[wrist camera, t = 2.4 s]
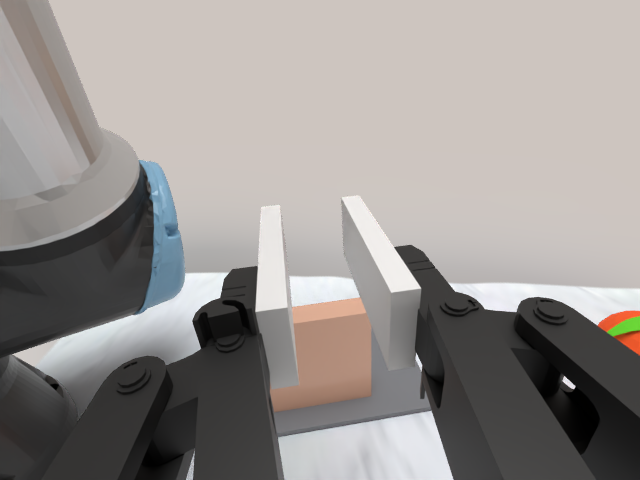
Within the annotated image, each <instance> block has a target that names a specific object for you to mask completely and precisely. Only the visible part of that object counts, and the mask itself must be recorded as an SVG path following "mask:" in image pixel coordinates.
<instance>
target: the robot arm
mask: <svg viewBox="0 0 640 480" xmlns="http://www.w3.org/2000/svg"><path fill="white" fill-rule="evenodd" d="M341 203H342V224H343V246H344V256H345V258H346V261H347V264H348V266H349V269H350V271H351V274H352V277H353V279H354V282H355V284H356V287H357V290H358V292H359V295H360V297H361V300H362V303H363V305H364V308H365V310H366V313H367V316H368V318H369V321H370V323H371V326H372V329H373V331H374V334H375V336H376V339H377V342H378V344H379V347H380V349H381V352H382V355H383V357H384V360H385V362H386V365H387V368H388V370H389V371H390V370H396V369H402V368H408V367H415V357H416V353H417V355H418V357H419V359H420V361H421V363H422V374H421V385H420V399H424V398H425V391H426V394H427V397H428V400H429V403H430V407H431V410H432V413H433V416H434V419H435V422H436V425H437V429H438V432H439V435H440V438H441V441H442V444H443V448H444V451H445V454H446V457H447V460H448V463H449V466H450V470H451V473H452V476H453V479H454V480H640V355H638V354H637V353H635V352H634V351H633V350H631V349H630V348H628V347H627V346H626V345H624V344H623V343H621V342H620V341H618V340H617V339H616V338H614V337H613V336H611V335H610V334H608V333H607V332H606V331H604V330H603V329H601V328H600V327H599V326H597V325H596V324H594V323H593V322H591V321H590V320H589V319H587V318H586V317H584V316H583V315H581V314H580V313H579V312H577V311H576V310H574V309H573V308H571V307H569V306H567V305H566V304H564V303H562V302H559V301H556V300H553V299H549V298H542V297H534V298H527V299H525V300H523V301H521V303H520V304H519V306H518V309H517V312H505V311H493V310H486V309H484V308H483V306H482V305H481V304H480V303H479V302H478V301H477V300H476V299H474V298H472V297H470V296H469V295H466V294H462V293H459V292H455V291H454V290H453V289H452V287H451V286H450V285H449V284H448V282H447V281H446V280H445V279H444V277H443V276H442V275H441V274H440V272H439V271H438V270H437V269H435V266H434V265H433V264H432V262H430V261H429V259H428V257H427V256H426V255H425V254H424V252H423V251H421V250H419V249H417V248H415V247H414V246H412V245H407V246H399V247H393V245H392V244H391V242H390V241H389V239H388V238H387V236H386V235H385V233H384V232H383V230H382V229H381V227H380V226H379V224H378V223H377V222H376V220H375V218H374V217H373V215H372V214H371V212H370V211H369V209H368V208H367V206H366V205H365V203H364V202H363V200H362V199H361V197H360V196H350V197H342V198H341ZM260 221H261V222H260V239H259V256H258V257H259V258H258V266H255V267H247V268H239V269H232V270H231V272H230V273H229V274H228V275H227V276H226V277H225V279H224V282H223V287H222V292H221V297H220V298H219V299H216V300H213V301H211V302H209V303H207V304H205V305H204V306H202V307H201V308H200V309H199V310H198V311H197V312H196V313H195V316H194V318H193V321H192V322H193V325H194V328H195V331H196V334H197V337H198V340H199V343H200V346H201V349H200V350H199V351H197V352H196V353H194V354H193V355H191V356H189V357H186V358H184V359H182V360H179V361H177V362H174V363H172V364H169V365H165V363H164V361H163V360H161V359H160V358H158V357H153V356H144V357H140V358H135V359H133V360H131V361H128V362H126V363H124V364H122V365H121V366H120V367H118V368H117V369H116V370H114V371H113V372H112V373H111V374H110V375H109V376H108V377H107V379H106V380H105V381H104V382H103V384H102V385H101V387H100V388H99V390H98V391H97V393H96V395H95V396H94V398H93V399H92V401H91V402H90V404H89V405H88V407H87V409H86V410H85V412H84V413H83V415H82V416H81V418H80V420H79V421H78V423H77V409H76V406H75V403H74V401H73V400H72V398H71V397H70V395H69V394H68V392H67V390H66V389H65V388H64V386H63V385H62V384H61V383H60V382H58V381H57V380H56V379H54V378H52V377H50V376H48V375H46V374H44V373H43V372H41V371H40V370H38V369H37V368H35V367H33V366H31V365H29V364H28V363H26V362H24V361H22V360H21V359H19V358H17V357H15V356H14V355H12V354H14V353H17V352H20V351H23V350H26V349H29V348H32V347H35V346H38V345H41V344H44V343H47V342H50V341H53V340H56V339H59V338H62V337H66V336H69V335H72V334H75V333H78V332H81V331H84V330H87V329H90V328H93V327H96V326H100V325H103V324H106V323H109V322H112V321H115V320H118V319H121V318H124V317H127V316H130V315H137V314H141V313H142V312H144V311H145V310H146V309H147V308H150V307H152V306H155V305H158V304H160V303H163V302H165V301H168V300H170V299H172V298H174V297H175V296H176V295H177V294H178V293H179V292H180V291H181V289H182V287H183V284H184V280H185V262H184V253H183V246H182V241H181V235H180V232H179V230H178V223H177V215H176V210H175V206H174V202H173V198H172V195H171V191H170V188H169V185H168V182H167V179H166V177H165V174H164V172H163V170H162V168H161V167H160V166H159V165H158V164H157V163H155V162H150V161H149V162H146V161H143V160H138V158H137V155H136V153H135V151H134V150H133V148H132V147H131V146H130V145H129V143H128V142H127V141H126V140H124V139H123V138H121V137H120V136H118V135H116V134H115V133H113V132H111V131H108V130H106V129H103V128H101V127H99V125H98V123H97V120H96V118H95V115H94V113H93V110H92V108H91V106H90V103H89V100H88V98H87V96H86V93H85V91H84V88H83V86H82V83H81V81H80V78H79V76H78V73H77V71H76V68H75V66H74V63H73V61H72V58H71V56H70V54H69V51H68V49H67V46H66V44H65V41H64V39H63V36H62V34H61V31H60V29H59V26H58V24H57V21H56V19H55V16H54V14H53V11H52V9H51V7H50V4H49V2H48V0H0V480H186V477H187V473H188V470H189V467H190V463H191V460H192V457H193V453H194V450H195V457H194V474H193V480H284V475H283V469H282V462H281V456H280V450H279V443H278V437H277V431H276V425H275V418H274V412H273V406H272V401H271V396H270V384H271V389H278V388H284V387H290V386H297V385H299V378H298V367H297V357H296V346H295V335H294V324H293V313H292V302H291V291H290V280H289V270H288V260H287V252H286V245H285V238H284V231H283V223H282V216H281V209H280V205H273V206H265V207H261V220H260ZM564 376H565V377H566V378H567V379H569V380H570V381H571V382H572V383H573V384H574V385H575V386H576V387H575V389H571V388H570V387H568V386H567V385H566V384H565V383H564V382H563V381H562V380H563V377H564Z"/></svg>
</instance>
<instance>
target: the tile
mask: <svg viewBox="0 0 640 480" xmlns="http://www.w3.org/2000/svg"><path fill="white" fill-rule="evenodd" d="M292 313H293V324H294V335H295V346H296V357H297V367H298V378H299V385H297V386H290V387H284V388H278V389H271V384H270V395H271V399H272V404H273V409H274V412H279V411H285V410H291V409H297V408H303V407H309V406H315V405H321V404H327V403H333V402H339V401H345V400H351V399H357V398H363V397H369V396H371V323H370V321H369V318H368V316H367V313H366V310H365V308H364V305H363V303H362V300H361V297H360V298H353V299H346V300H339V301H332V302H325V303H318V304H311V305H304V306H297V307H292Z"/></svg>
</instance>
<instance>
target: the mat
mask: <svg viewBox="0 0 640 480" xmlns="http://www.w3.org/2000/svg"><path fill="white" fill-rule="evenodd" d="M421 374H422V372H421V370H420V368H419V366H418V364H417V362H416V360H415V367H408V368H402V369H396V370H390V371H389V370H388V368H387V365H386V362H385V360H384V357H383V355H382V352H381V349H380V347H379V344H378V342H377V339H376V336H375V334H374V331H373V329H372V326H371V396H369V397H363V398H357V399H351V400H345V401H339V402H333V403H327V404H321V405H315V406H309V407H303V408H297V409H291V410H285V411H279V412H274V409H273V412H274V418H275V425H276V431H277V437H279V436H285V435H290V434H296V433H302V432H308V431H314V430H319V429H325V428H331V427H337V426H343V425H348V424H354V423H360V422H366V421H372V420H377V419H383V418H389V417H395V416H401V415H406V414H412V413H418V412H424V411H430V410H431V407H430V403H429V400H428V397H427V394H426V391H425V398H424V399H420V385H421ZM270 396H271V395H270ZM271 401H272V399H271ZM272 406H273V404H272Z"/></svg>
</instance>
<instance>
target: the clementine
mask: <svg viewBox="0 0 640 480" xmlns="http://www.w3.org/2000/svg"><path fill="white" fill-rule="evenodd" d="M598 326H599V327H600V328H601V329H603V330H604V331H606V332H607V333H608V334H610V335H611V336H613V337H614V338H616V339H617V340H618V341H620V342H621V343H623V344H624V345H626V346H627V347H628V348H630V349H631V350H633V351H634V352H635V353H637V354H638V355H640V311H624V312H620V313H616V314H612V315H610V316H609V317H607V318H605V319H604V320H603V321H601V322H600V323H599V324H598Z"/></svg>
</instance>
